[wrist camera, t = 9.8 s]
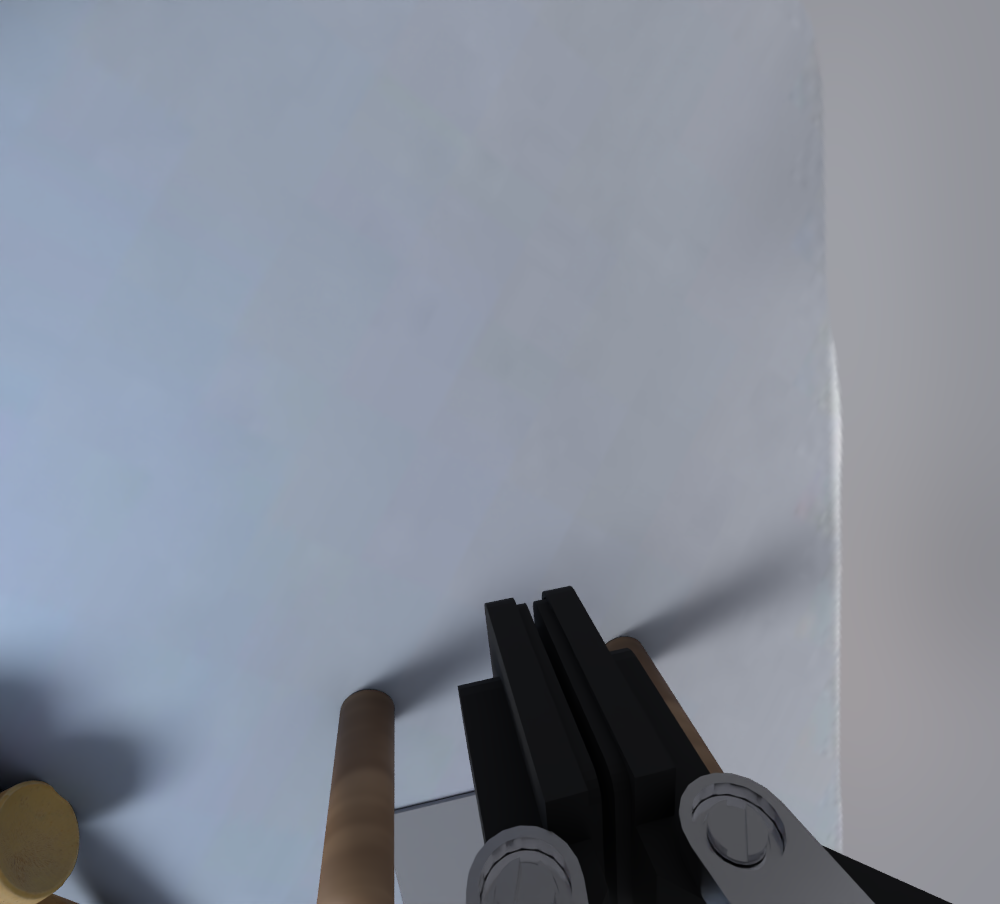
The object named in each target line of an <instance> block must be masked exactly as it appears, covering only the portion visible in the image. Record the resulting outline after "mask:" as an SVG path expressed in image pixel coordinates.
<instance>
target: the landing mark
mask: <svg viewBox="0 0 1000 904" xmlns="http://www.w3.org/2000/svg"><path fill="white" fill-rule="evenodd" d="M483 846H484V840H483V834H482V828H481V822H480V817H479V811H478V805H477V800H476V794H475V792H471V793H467V794H463V795H458V796H454V797H450V798H446V799H442V800H437V801H433V802H429V803H425V804H420V805H416V806H412V807H408V808H404V809H399V810H395V811H394V867H395V871H396V875H397V879H398V884H399V888H400V892H401V896H402V900H403V904H466V887H467V880H468V873H469V870H470V868H471V865H472V863H473V861H474V859H475V857H476V854H477V853H478V852H479V851H480V849H481V848H482V847H483Z"/></svg>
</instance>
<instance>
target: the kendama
mask: <svg viewBox="0 0 1000 904" xmlns="http://www.w3.org/2000/svg"><path fill="white" fill-rule="evenodd" d="M78 851H79V828H78V822H77V819H76V816H75V813H74V811H73V809H72V807H71V805H70V804H69V802H68V801H66V800H65V799H64V798H62V797H61V796H60V795H59V794H58V793H57V792H56V791H55V790H54V788H53V787H52V786H50V785H49V784H47V783H45V782H43V781H35V780H32V781H25V782H22V783H19V784H16V785H15V786H13V787H11V788H9V789H7V790H5V791H3V792H1V793H0V904H78V903H76V902H73V901H71V900H68V899H65V898H63V897H60V896H57V895H55V894H52V893H54V892H55V891H56V890H58V889H59V888H60V887H61V886H62V885H63V884H64V882H65V881H66V879H67V878H68V877H69V875H70V874H71V872H72V871H73V868H74V866H75V863H76V860H77V856H78Z"/></svg>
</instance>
